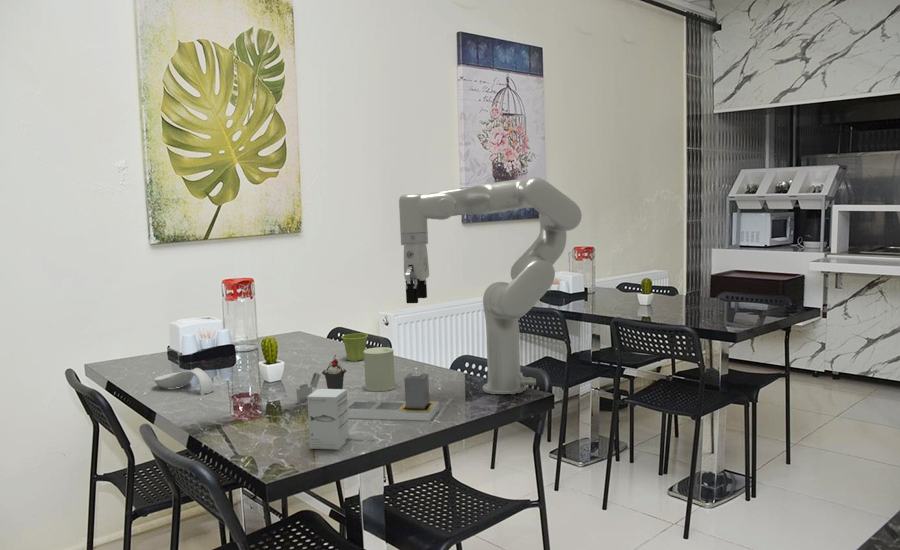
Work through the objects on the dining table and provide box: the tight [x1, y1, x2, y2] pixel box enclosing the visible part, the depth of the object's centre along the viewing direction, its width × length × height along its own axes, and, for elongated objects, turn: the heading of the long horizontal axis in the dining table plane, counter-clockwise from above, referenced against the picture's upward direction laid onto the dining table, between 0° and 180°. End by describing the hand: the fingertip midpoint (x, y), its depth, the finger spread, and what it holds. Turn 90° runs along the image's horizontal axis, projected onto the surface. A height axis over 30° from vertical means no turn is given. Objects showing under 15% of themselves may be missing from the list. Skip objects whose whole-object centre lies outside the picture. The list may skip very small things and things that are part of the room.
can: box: [363, 346, 396, 392], centre depth 220 cm, size 9×9×12 cm
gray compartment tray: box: [347, 399, 440, 425], centre depth 190 cm, size 24×10×3 cm, turn 78°
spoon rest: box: [153, 367, 215, 395], centre depth 228 cm, size 24×12×7 cm, turn 54°
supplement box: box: [307, 388, 349, 451], centre depth 170 cm, size 7×7×13 cm
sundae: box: [321, 354, 348, 389], centre depth 201 cm, size 7×7×15 cm
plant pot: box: [340, 332, 369, 362], centre depth 261 cm, size 9×9×9 cm
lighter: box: [295, 371, 322, 405], centre depth 208 cm, size 7×2×8 cm, turn 126°
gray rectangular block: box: [403, 373, 430, 410], centre depth 188 cm, size 5×5×10 cm
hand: (417, 300), depth 203 cm, fingers open, 9 cm apart
